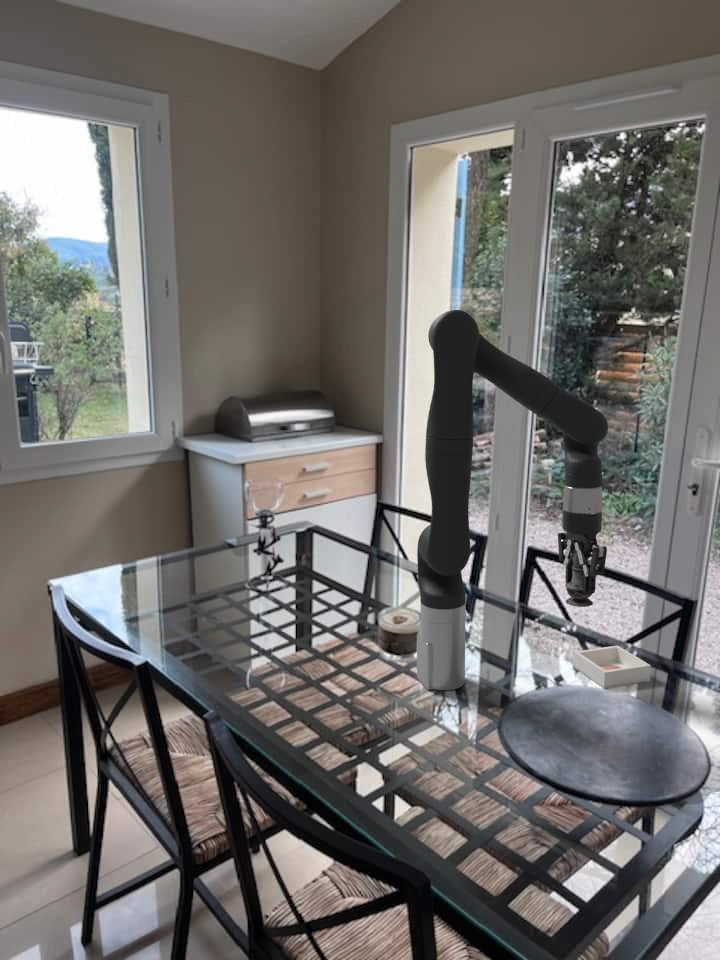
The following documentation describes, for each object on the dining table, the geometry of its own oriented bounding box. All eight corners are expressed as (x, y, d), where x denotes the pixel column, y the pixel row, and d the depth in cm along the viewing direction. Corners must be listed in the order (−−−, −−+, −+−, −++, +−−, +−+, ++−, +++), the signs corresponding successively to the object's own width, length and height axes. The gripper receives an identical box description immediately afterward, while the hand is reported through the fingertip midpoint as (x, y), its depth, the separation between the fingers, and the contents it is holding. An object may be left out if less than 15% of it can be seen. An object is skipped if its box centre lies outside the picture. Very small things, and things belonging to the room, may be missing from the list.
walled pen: (603, 688, 145) (604, 672, 145) (573, 667, 156) (573, 651, 155) (649, 681, 148) (650, 665, 148) (616, 660, 159) (617, 645, 158)
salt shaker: (596, 608, 143) (598, 549, 141) (565, 606, 145) (567, 548, 143) (592, 598, 149) (594, 542, 147) (563, 597, 150) (564, 541, 148)
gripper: (546, 502, 149) (545, 580, 152) (587, 516, 136) (584, 601, 139) (578, 500, 151) (576, 576, 154) (621, 513, 138) (617, 597, 141)
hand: (579, 588), depth 146 cm, fingers closed on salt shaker, 6 cm apart
